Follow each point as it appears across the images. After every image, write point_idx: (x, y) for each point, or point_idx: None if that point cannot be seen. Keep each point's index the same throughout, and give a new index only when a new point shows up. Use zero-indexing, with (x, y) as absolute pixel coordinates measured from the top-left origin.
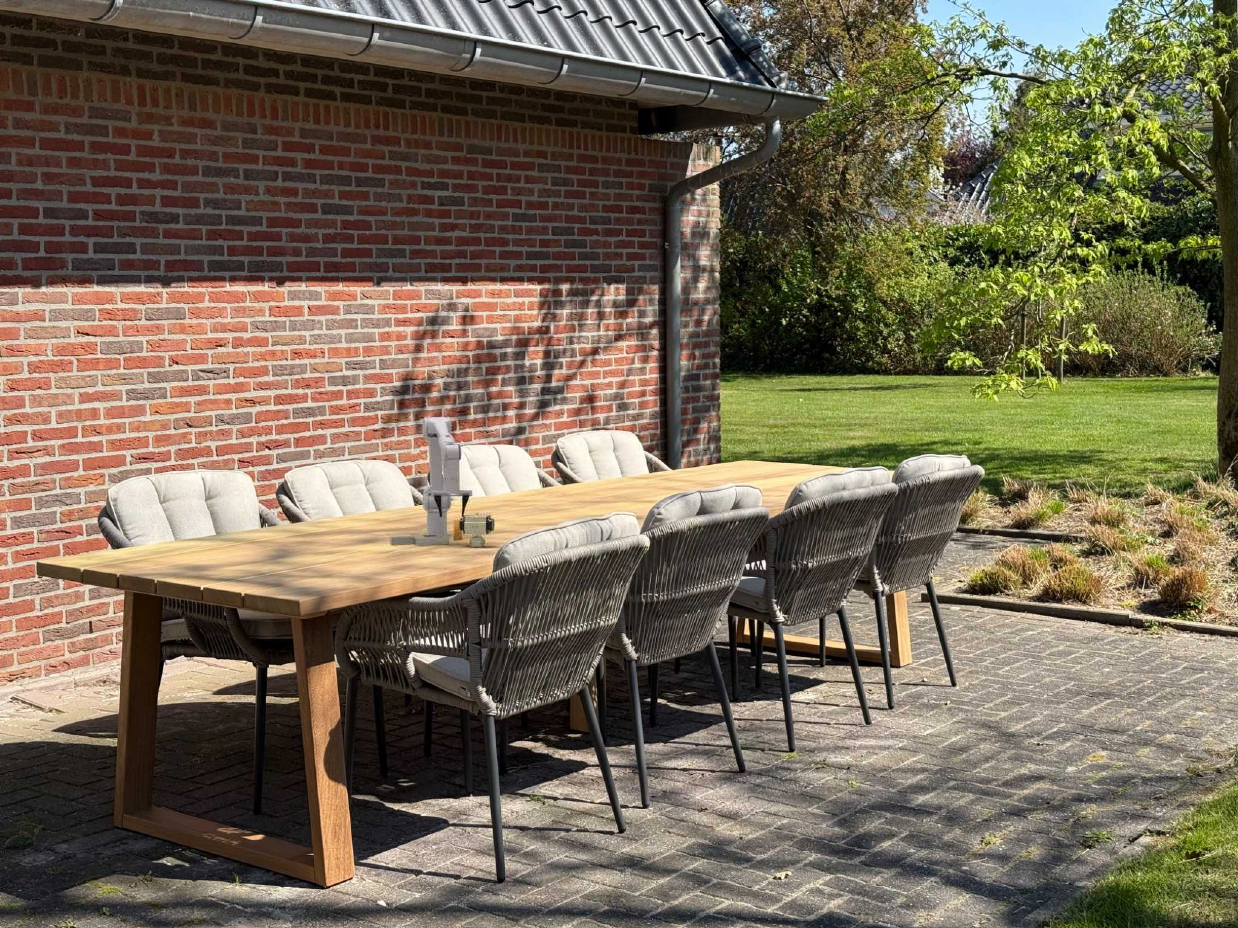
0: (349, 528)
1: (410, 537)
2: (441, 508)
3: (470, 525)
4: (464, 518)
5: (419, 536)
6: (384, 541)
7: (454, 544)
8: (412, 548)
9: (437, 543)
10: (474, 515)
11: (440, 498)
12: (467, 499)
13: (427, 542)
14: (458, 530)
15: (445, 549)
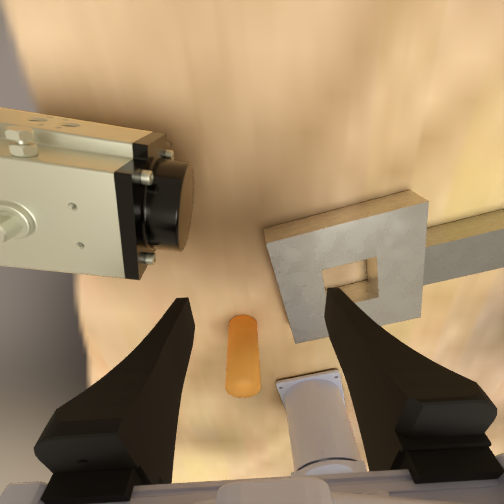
0: (500, 452)
1: (442, 242)
2: (344, 361)
3: (86, 128)
4: (123, 165)
5: (397, 267)
6: (496, 296)
7: (242, 223)
8: (446, 96)
9: (316, 217)
10: (49, 241)
11: (410, 417)
12: (58, 412)
13: (362, 208)
14: (239, 343)
15: (273, 41)
